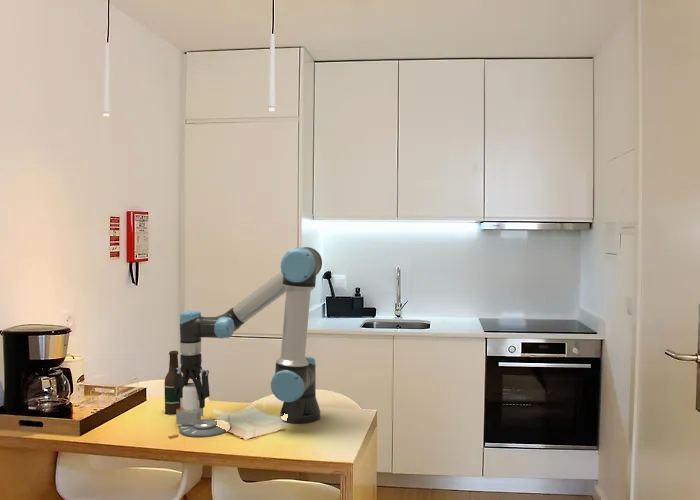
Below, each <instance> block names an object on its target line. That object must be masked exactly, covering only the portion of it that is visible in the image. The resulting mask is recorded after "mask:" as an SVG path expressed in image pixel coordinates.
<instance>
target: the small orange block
mask: <svg viewBox="0 0 700 500" xmlns="http://www.w3.org/2000/svg"><path fill="white" fill-rule="evenodd" d="M178 437H179V434H178V433H173V434H170V435H168V439H170V440H171V439H174V438H178Z"/></svg>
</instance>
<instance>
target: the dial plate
mask: <svg viewBox="0 0 700 500" xmlns="http://www.w3.org/2000/svg"><path fill="white" fill-rule="evenodd" d="M206 419H207V418H204V419H202V418H201V420H206ZM209 419H210V420H215V419H216V418H209ZM178 431H179V432H178V433H179V434H181V436H184V437H187V438H210V437H211V438H212V437H216V436H220V435H224V434H226V433H227V432H226V430H225V429H222V428H220V427H218V426H215V427H213V428H209V429H197V428H194V426H192V425H182V424H180V426H179V429H178ZM225 432H226V433H225Z"/></svg>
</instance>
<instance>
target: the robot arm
mask: <svg viewBox="0 0 700 500" xmlns="http://www.w3.org/2000/svg"><path fill="white" fill-rule="evenodd" d="M322 266H323V259H322V255H321V254H320V252H318V251H317V250H316V249H315V248H313V247H309V246H307V247H306V246H302V247H294V248H291V249H290V250H289V251H287V252H285V254H284V255H283V257H282V258H281V261H280V271H279V272H278V273H276V274H275V275H273V277H272V276H271V278H269V279H268V280H267V281H265V283H263V284H262V285H261V286H259V287H258V288H256V289H255V290H254V291H253V292H251V293H250V294H249V295H246V297H244V298H243V299H242V300H241V301H239V302H238V303H237V304H235V305H234V306H233V307H231V308H230V309H228V310H227V311H226V312H225V313H223V314H219V315H218V316H202V313H201V311H199V310H185V311H182V312H180V315H179V338H180V339H179V353H180V357H179V360H180V361H179V363H180V367H179V368H177V369H174V375H175V380H174V395H175V396H178V397H179V406H181V408H183V387H184V385H187V384H188V383H189V381H190V380H192V383H194V384H195V387H196V390H197V394H198V397H199V399H198V400H197V411H201V418H202V417H204V408H205V406H206V399H207V398H210V385H209V373H210V370H209V369H203V368H202V367H203V366H202V353H201V352H202V339H203V338H212V339H213V338H214V339H229V338H232V336H233V334H234V332H236V331H237V330H239V329H240V328H241V326H243V325H244V324H245V323H247V322H248V321H249V320H250V319H252V318H253V317H255V316H256V315H257V314H259V313H260V312H262V311H263V310H264V309H266V307H268V306H270V305H271V304H272V303H274V302H275V301H277V299H279V298H280V297H281V296H283V295H284V294H285V299H284V300H285V301H284V313H283V315H284V316H283V325H282V327H283V328H282V338H281V349H280V350H281V351H280V356H279V357H278V358H277V359H276V361H275V369H274V374H273V375H272V377H271V381H270V389H271V393H272V394H273V396H274V397H275V398H277V400H279V401H281V402H282V405H281V410H280V414H279V415H280V416H283V415H284V413H285V414H288V418H287V422H286V423H291V424H307V423H312V422H316V421H318V420H319V419H320V418H321V409H320V406H319V402H318V400H317V395H316V385H317V384H316V378H317V377H316V376H317V375H316V373H317V371H316V367H317V365H316V358H314V357H312V356H306V348H307V336H308V324H309V314H310V311H309V310H310V302H311V301H310V300H311V292H312V291H313V290H314V289H315V288H316V283H317V282H316V281H317V275H318V274H319V273H320V272H321V270H322ZM181 374H182V383H181Z"/></svg>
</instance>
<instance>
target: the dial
mask: <svg viewBox="0 0 700 500" xmlns="http://www.w3.org/2000/svg"><path fill="white" fill-rule="evenodd" d="M175 416H176V419H175V420H176V421H175V422H176V425H192V426H194V428H197V429H209V428H213V427H215V426H216V425H217V421H215V420H210V419H211V418H205V419H206V420H202V417H201V411H195V410H184V408H178V409H176V415H175Z"/></svg>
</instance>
